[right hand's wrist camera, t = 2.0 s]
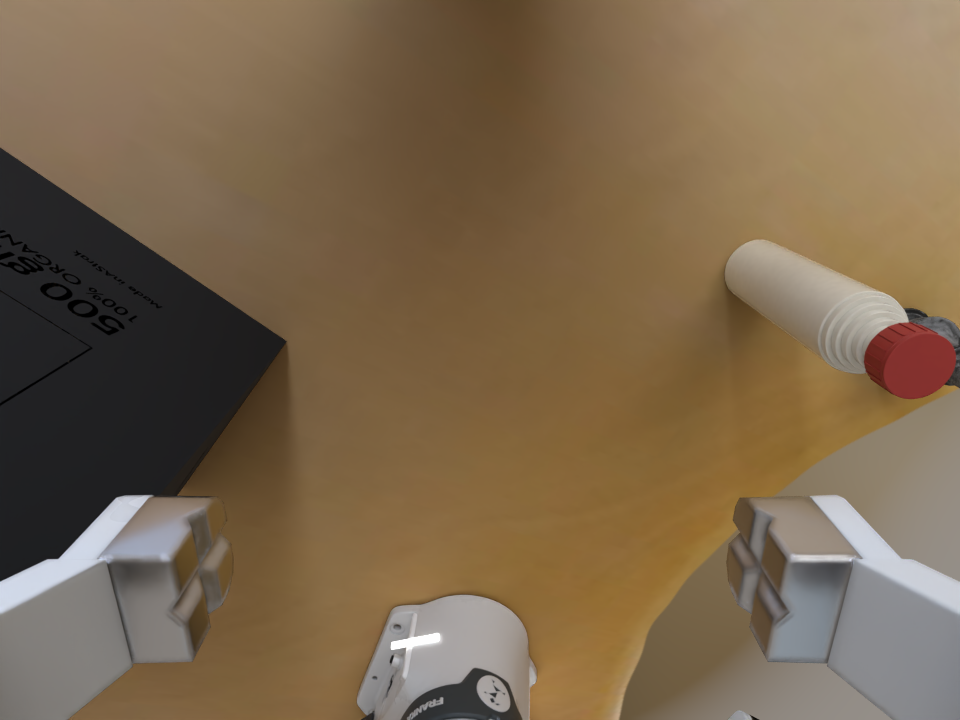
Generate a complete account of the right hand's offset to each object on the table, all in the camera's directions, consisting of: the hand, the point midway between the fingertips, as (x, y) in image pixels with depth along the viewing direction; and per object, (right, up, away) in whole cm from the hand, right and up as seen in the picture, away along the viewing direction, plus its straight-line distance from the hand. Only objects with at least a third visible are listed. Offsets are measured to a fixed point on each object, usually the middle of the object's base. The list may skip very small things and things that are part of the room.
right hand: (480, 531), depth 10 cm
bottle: (+25, +11, +47) cm, 54 cm away
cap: (+25, +2, +26) cm, 36 cm away
